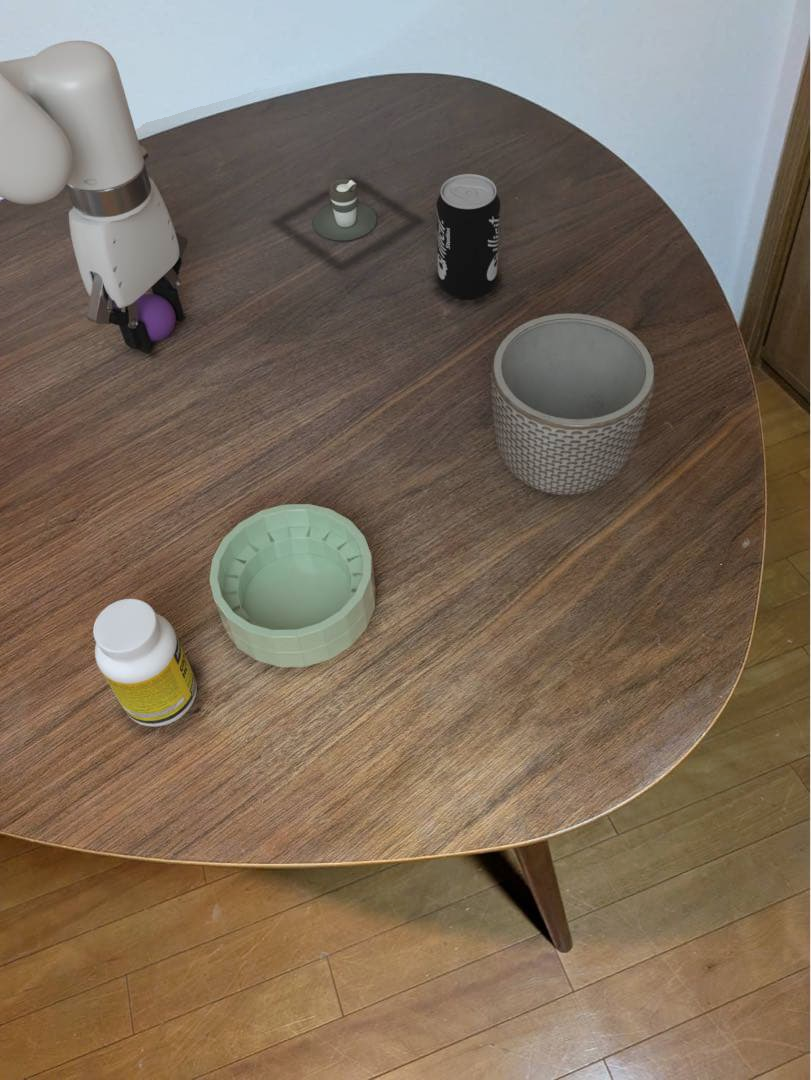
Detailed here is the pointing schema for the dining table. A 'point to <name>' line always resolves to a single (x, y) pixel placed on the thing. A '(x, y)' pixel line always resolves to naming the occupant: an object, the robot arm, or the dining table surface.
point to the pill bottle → (143, 663)
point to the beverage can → (468, 236)
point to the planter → (569, 401)
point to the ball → (156, 316)
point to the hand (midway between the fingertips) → (156, 331)
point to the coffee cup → (344, 214)
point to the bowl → (294, 584)
